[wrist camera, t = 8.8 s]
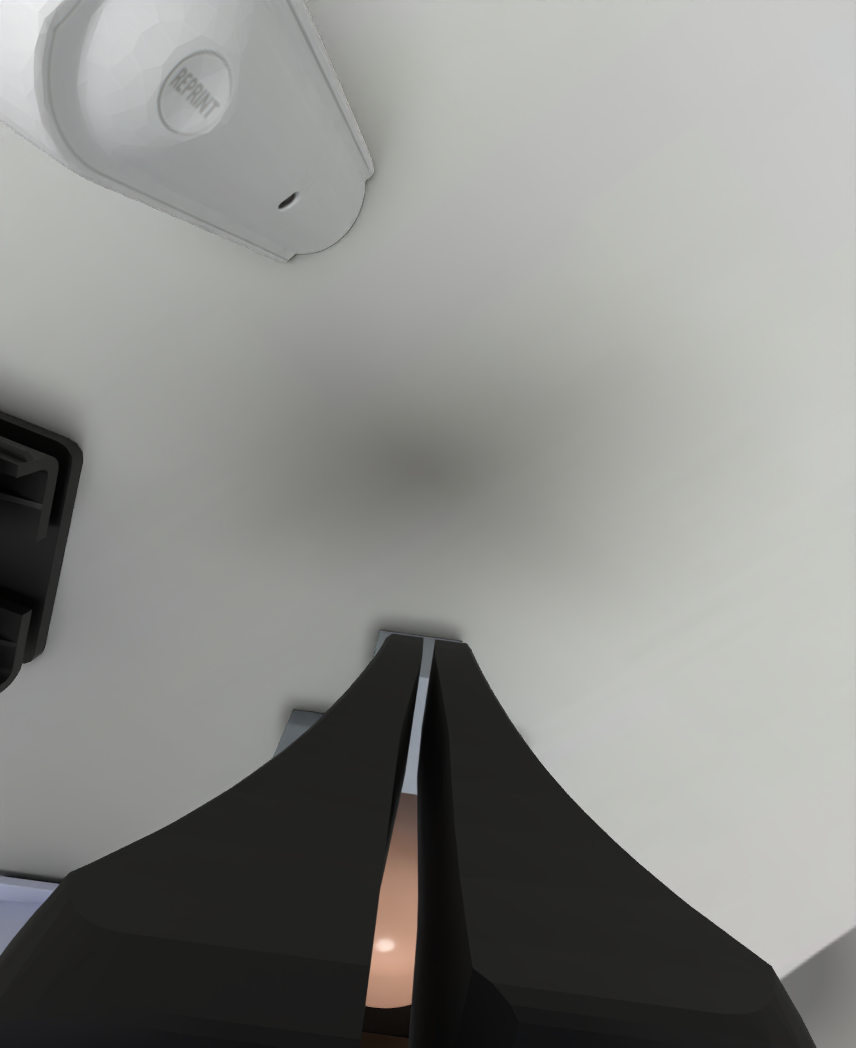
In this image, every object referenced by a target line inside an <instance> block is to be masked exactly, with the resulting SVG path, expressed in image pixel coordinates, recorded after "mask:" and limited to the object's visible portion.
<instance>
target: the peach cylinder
mask: <svg viewBox="0 0 856 1048" xmlns="http://www.w3.org/2000/svg"><path fill="white" fill-rule="evenodd" d="M417 914H418V846H417V795H416V794H409V793H402V792H401V796H400V801H399V805H398V810H397V815H396V819H395V824H394V828H393V833H392V838H391V842H390V847H389V852H388V856H387V861H386V865H385V870H384V875H383V879H382V884H381V888H380V895H379V903H378V911H377V919H376V927H375V935H374V943H373V951H372V959H371V966H370V974H369V982H368V989H367V997H366V1005H365V1006H369V1007H376V1008H396V1007H402V1006H407V1005H411V1003H412V990H413V977H414V963H415V950H416V936H417Z"/></svg>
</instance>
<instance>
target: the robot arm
mask: <svg viewBox="0 0 856 1048" xmlns="http://www.w3.org/2000/svg"><path fill="white" fill-rule="evenodd" d="M423 640H424V638H422V637H415V636H408V635H400V634H393V633H392V634H391V635H389V636H388V637H386V639H385V641H384V643H383V644H382V646H381V648H380V649H379V651H378V652H377V654H376V655H375V657H374V658H373V659H372V661H371V662H370V663H369V665H368V666H367V667H366V669H365V670H364V671H363V672H362V673H361V675H360V676H359V677H358V678H357V679H356V680H355V682H354V683H353V684H352V685H351V686H350V688H349V689H348V690H347V691H346V692H345V693H344V694H343V695H342V696H341V697H340V698H339V699H338V700H337V701H336V702H335V704H334V705H333V706H332V707H331V708H330V709H329V710H328V711H327V712H326V713H325V714H324V715H323V716H322V717H321V718H320V719H319V720H318V721H317V722H315V723H314V724H313V725H312V726H311V727H310V728H309V729H308V730H307V731H305V732H304V733H303V734H302V735H301V736H300V737H299V738H297V739H296V740H295V741H294V742H293V743H291V744H290V745H289V746H288V747H287V748H285V749H284V750H283V751H282V752H280V753H279V754H278V755H276V756H275V757H274V758H272V759H271V760H270V761H268V762H267V763H266V764H264V765H263V766H262V767H260V768H259V769H257V770H256V771H255V772H253V773H252V774H251V775H249V776H248V777H246V778H245V779H243V780H242V781H241V782H239V783H238V784H236V785H235V786H233V787H232V788H230V789H229V790H227V791H226V792H224V793H222V794H221V795H219V796H217V797H216V798H214V799H212V800H211V801H209V802H207V803H206V804H204V805H202V806H201V807H199V808H197V809H196V810H194V811H192V812H191V813H189V814H187V815H186V816H184V817H182V818H180V819H179V820H177V821H175V822H173V823H171V824H170V825H168V826H166V827H164V828H162V829H160V830H158V831H156V832H154V833H152V834H150V835H148V836H146V837H144V838H142V839H140V840H138V841H136V842H134V843H132V844H130V845H127V846H125V847H123V848H121V849H119V850H117V851H115V852H113V853H111V854H109V855H107V856H105V857H103V858H101V859H98V860H96V861H94V862H92V863H90V864H88V865H86V866H83V867H81V868H79V869H77V870H74V871H72V872H70V873H69V874H68V875H67V876H66V877H65V878H64V879H63V881H62V882H61V883H60V884H56V883H49V882H41V881H34V880H27V879H19V878H12V877H4V876H0V1048H360V1043H361V1035H362V1028H363V1020H364V1012H365V1005H366V997H367V989H368V982H369V974H370V966H371V959H372V951H373V943H374V935H375V927H376V919H377V911H378V903H379V895H380V888H381V884H382V879H383V875H384V870H385V865H386V861H387V856H388V852H389V847H390V842H391V838H392V833H393V828H394V824H395V819H396V815H397V810H398V805H399V801H400V796H401V791H402V787H403V782H404V778H405V772H406V765H407V759H408V752H409V745H410V738H411V731H412V724H413V718H414V711H415V704H416V697H417V690H418V683H419V676H420V670H421V663H422V656H423ZM417 846H418V914H417V936H416V950H415V963H414V977H413V990H412V1003H411V1016H410V1029H409V1042H408V1048H816V1046H815V1044H814V1042H813V1040H812V1038H811V1036H810V1034H809V1032H808V1030H807V1028H806V1026H805V1024H804V1022H803V1020H802V1018H801V1016H800V1014H799V1013H798V1011H797V1009H796V1007H795V1006H794V1004H793V1002H792V1001H791V999H790V997H789V995H788V994H787V992H786V990H785V988H784V987H783V985H782V984H781V982H780V980H779V978H778V976H777V975H776V973H775V971H774V970H773V968H772V966H771V965H769V964H768V963H767V962H765V961H764V960H762V959H761V958H760V957H758V956H757V955H756V954H754V953H753V952H752V951H750V950H749V949H748V948H746V947H745V946H744V945H742V944H741V943H740V942H738V941H737V940H736V939H734V938H733V937H731V936H730V935H729V934H727V933H726V932H725V931H723V930H722V929H721V928H719V927H718V926H717V925H715V924H714V923H713V922H711V921H710V920H709V919H707V918H706V917H705V916H703V915H702V914H700V913H699V912H698V911H696V910H695V909H694V908H692V907H691V906H690V905H688V904H687V903H686V902H685V901H683V900H682V899H681V898H680V897H678V896H677V895H676V894H675V893H674V892H672V891H671V890H670V889H669V888H668V887H667V886H665V885H664V884H663V883H662V882H661V881H659V880H658V879H657V878H656V877H655V876H653V875H652V874H651V873H650V872H649V871H647V870H646V869H645V868H644V867H643V866H642V865H640V864H639V863H638V862H637V861H636V860H635V859H634V858H633V857H631V856H630V855H629V854H628V853H627V852H626V851H625V850H624V849H623V848H621V847H620V846H619V845H618V844H617V843H616V842H615V841H614V840H613V839H612V838H611V837H610V836H609V835H608V834H607V833H606V832H605V831H604V830H603V829H601V828H600V827H599V826H598V825H597V824H596V823H595V822H594V821H593V820H592V819H591V818H590V817H589V816H588V815H587V814H586V813H585V812H584V811H583V810H582V809H581V808H580V807H579V806H578V805H577V803H576V802H575V801H574V800H573V799H572V798H571V797H570V796H569V795H568V794H567V793H566V792H565V791H564V789H563V788H562V787H561V786H560V785H559V784H558V782H557V781H556V780H555V779H554V778H553V777H552V776H551V774H550V773H549V772H548V771H547V770H546V769H545V767H544V766H543V765H542V764H541V762H540V761H539V760H538V758H537V757H536V756H535V754H534V753H533V752H532V750H531V749H530V748H529V746H528V745H527V743H526V742H525V741H524V739H523V738H522V737H521V735H520V734H519V732H518V731H517V729H516V728H515V726H514V725H513V723H512V722H511V720H510V719H509V717H508V716H507V714H506V712H505V711H504V709H503V708H502V706H501V704H500V703H499V701H498V700H497V698H496V696H495V695H494V693H493V691H492V689H491V688H490V686H489V684H488V682H487V680H486V679H485V677H484V675H483V673H482V671H481V669H480V667H479V665H478V663H477V661H476V659H475V657H474V655H473V653H472V650H471V649H470V647H469V646H468V645H467V644H466V643H459V642H452V641H444V640H437V639H435V643H434V650H433V656H432V663H431V670H430V676H429V683H428V689H427V696H426V702H425V709H424V715H423V722H422V729H421V739H420V749H419V760H418V770H417Z"/></svg>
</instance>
